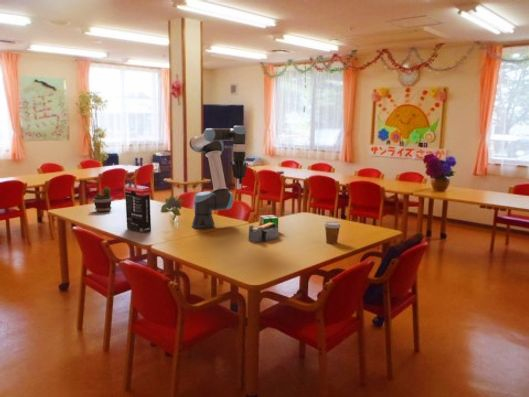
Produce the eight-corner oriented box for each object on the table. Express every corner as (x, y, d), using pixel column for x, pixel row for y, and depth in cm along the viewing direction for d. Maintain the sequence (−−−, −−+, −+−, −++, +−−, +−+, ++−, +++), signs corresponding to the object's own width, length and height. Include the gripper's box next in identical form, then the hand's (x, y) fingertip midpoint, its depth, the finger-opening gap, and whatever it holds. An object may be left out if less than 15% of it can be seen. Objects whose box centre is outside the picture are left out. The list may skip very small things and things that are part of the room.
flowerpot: (95, 213, 343) (93, 187, 339) (92, 210, 356) (90, 185, 352) (115, 212, 349) (113, 186, 346) (111, 208, 363) (110, 183, 359)
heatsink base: (246, 239, 276) (246, 225, 275) (265, 233, 291) (265, 220, 290) (261, 243, 269) (261, 228, 267) (280, 236, 284) (280, 222, 282)
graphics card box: (152, 231, 294) (150, 189, 289) (143, 233, 288) (142, 191, 283) (134, 227, 303) (132, 187, 298) (125, 229, 297) (124, 188, 292)
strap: (251, 230, 274) (251, 228, 273) (268, 224, 286) (268, 221, 286) (257, 232, 271) (257, 229, 270) (274, 225, 283) (274, 222, 283)
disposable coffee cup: (340, 241, 276) (341, 222, 274) (338, 245, 267) (339, 225, 265) (325, 239, 279) (325, 220, 276) (322, 243, 270) (323, 224, 267)
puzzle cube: (273, 229, 303) (273, 214, 301) (278, 233, 294) (278, 218, 292) (258, 230, 300) (259, 215, 298) (263, 234, 291) (263, 218, 289)
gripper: (227, 150, 281) (227, 188, 285) (243, 152, 273) (243, 190, 277) (235, 150, 286) (235, 187, 291) (251, 151, 278) (250, 189, 283)
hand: (239, 188), depth 284 cm, fingers closed
